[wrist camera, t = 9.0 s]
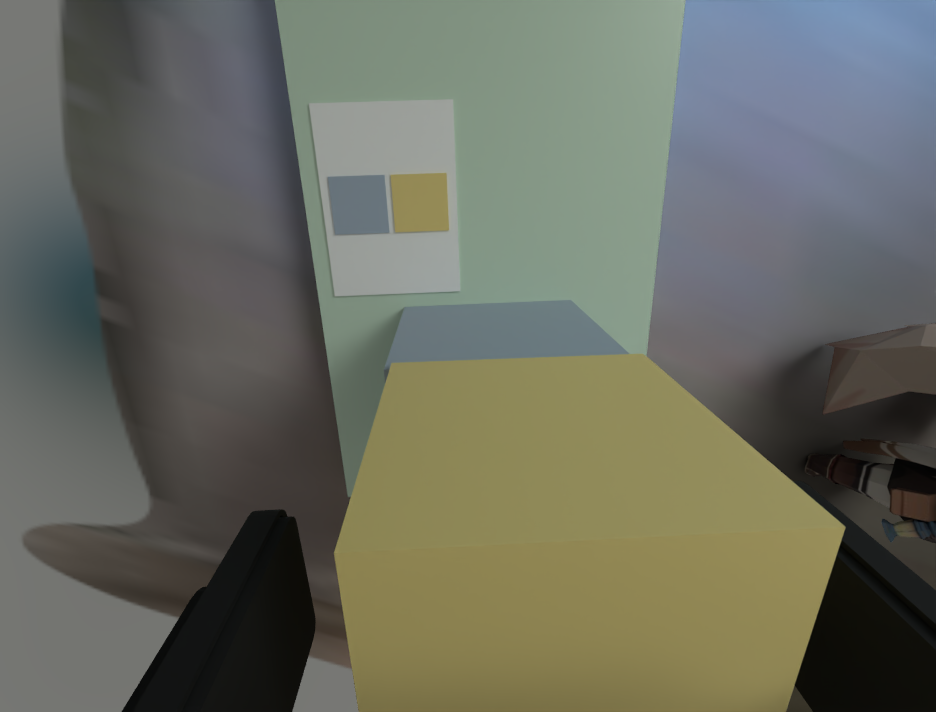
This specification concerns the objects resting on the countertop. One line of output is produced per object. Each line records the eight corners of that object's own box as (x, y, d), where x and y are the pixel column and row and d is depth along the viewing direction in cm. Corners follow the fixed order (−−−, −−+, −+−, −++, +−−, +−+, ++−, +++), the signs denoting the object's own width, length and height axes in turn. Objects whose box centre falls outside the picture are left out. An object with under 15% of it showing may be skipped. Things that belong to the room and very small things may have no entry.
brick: (391, 363, 11) (334, 552, 5) (643, 353, 11) (846, 527, 5) (408, 562, 13) (380, 850, 7) (619, 551, 13) (749, 823, 8)
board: (258, -197, 13) (237, -240, 11) (688, -200, 13) (714, -242, 12) (353, 479, 20) (347, 499, 19) (622, 465, 21) (634, 483, 19)
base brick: (404, 306, 17) (383, 369, 11) (571, 299, 17) (634, 358, 11) (416, 451, 19) (404, 566, 13) (564, 444, 19) (614, 554, 13)
